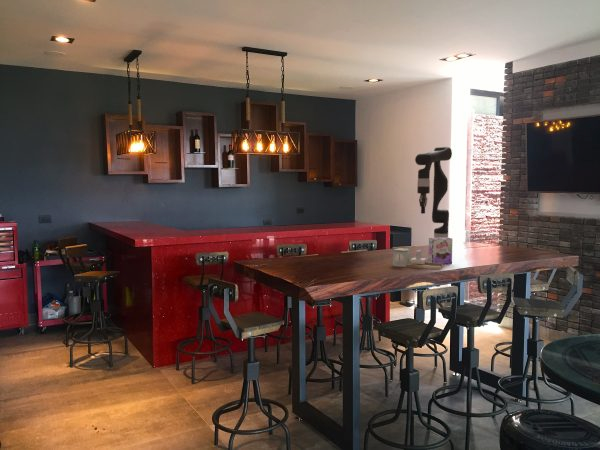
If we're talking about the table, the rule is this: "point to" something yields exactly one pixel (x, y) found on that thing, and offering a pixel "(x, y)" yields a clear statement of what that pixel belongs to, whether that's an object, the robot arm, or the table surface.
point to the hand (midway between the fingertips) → (423, 213)
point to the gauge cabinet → (401, 257)
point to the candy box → (440, 250)
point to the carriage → (418, 258)
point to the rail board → (425, 265)
